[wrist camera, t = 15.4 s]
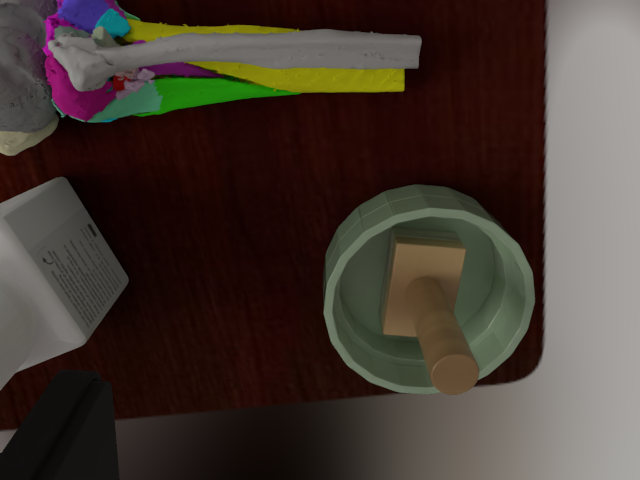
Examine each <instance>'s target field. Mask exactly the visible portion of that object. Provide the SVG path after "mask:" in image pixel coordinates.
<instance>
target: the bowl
mask: <svg viewBox="0 0 640 480" xmlns="http://www.w3.org/2000/svg"><path fill="white" fill-rule="evenodd" d="M391 227H400V228H412V229H424V230H436V231H447V232H456V233H457V235H458V236H459V238H460V240H461V241H462V243H463V245H464V246H465V248H466V255H465V259H464V264H463V269H462V274H461V279H460V284H459V289H458V293H457V298H456V303H455V308H454V315H455V317H456V319H457V321H458V323H459V325H460V328H461V330H462V332H463V334H464V336H465V338H466V340H467V343H468V345H469V347H470V349H471V351H472V353H473V356H474V358H475V360H476V362H477V364H478V367H479V378H478V380H479V379H481V378H483V377H485V376H487V375H489V374H490V373H491V372H492V371H493V370H494V369H496V368H497V367H498V366H499V365H500V364H501V363H503V362H504V361H505V360H506V359H507V358H508V357H510V356H511V355H512V353H513V352H514V350H515V349H516V347H517V345H518V344H519V342H520V341H521V339H522V338H523V336H524V335H525V333H526V332H527V329H528V327H529V323H530V319H531V315H532V311H533V308H534V304H535V292H534V282H533V272H532V269H531V267H530V265H529V263H528V261H527V259H526V257H525V255H524V253H523V251H522V250H521V248H520V246H519V244H518V243H517V242H516V241H515V240H514V239H513V237H512V236H511V235H510V234H509V233H508V232H507V231H506V230H505V228H504V227H503V226H502V225H501V224H500V223H499V222H498V221H497V219H496V218H495V217H494V216H493V215H492V214H491V213H489V212H488V211H487V210H486V209H485V208H484V207H483V206H482V205H481V204H480V203H479V202H477V201H476V200H475V199H473V198H472V197H469V196H467V195H465V194H462V193H460V192H458V191H455V190H453V189H451V188H448V187H447V188H446V187H442V186H430V185H419V184H417V185H415V184H414V185H410V186H405V187H401V188H396V189H392V190H387V191H385V192H383V193H381V194H379V195H377V196H375V197H374V198H372V199H370V200H368V201H367V202H365V203H363V204H361V205H359V207H357V208H356V209H355V210H354V211H353V212H352V213H351V214H350V215H349V216H348V217H347V218H346V220H345V221H344V222H343V223H342V224H341V225H340V226H339V227H338V229H337V230H336V232H335V235H334V237H333V239H332V241H331V243H330V245H329V247H328V250H327V252H326V255H325V264H324V274H323V305H324V317H325V321H326V325H327V329H328V333H329V337H330V341H331V343H332V344H333V346H334V347H335V348H336V350H337V351H338V353H339V354H340V356H341V357H342V359H343V360H344V362H345V363H346V364H347V365H348V366H349V367H350V368H352V369H353V370H354V371H356V372H357V373H358V374H360V375H361V376H362V377H364V378H365V379H366V380H368V381H369V382H371V383H373V384H376V385H379V386H382V387H385V388H387V389H390V390H393V391H396V392H401V393H415V394H434V393H439V392H440V391H439V390H437V389H436V388H435V387H434V385H433V384H432V381H431V379H430V375H429V372H428V369H427V366H426V363H425V359H424V356H423V353H422V350H421V347H420V344H419V340H418V337H409V336H396V335H384V334H383V332H382V327H381V323H380V318H379V313H378V312H379V305H380V299H381V292H382V285H383V278H384V272H385V265H386V258H387V252H388V245H389V238H390V231H391Z"/></svg>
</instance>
